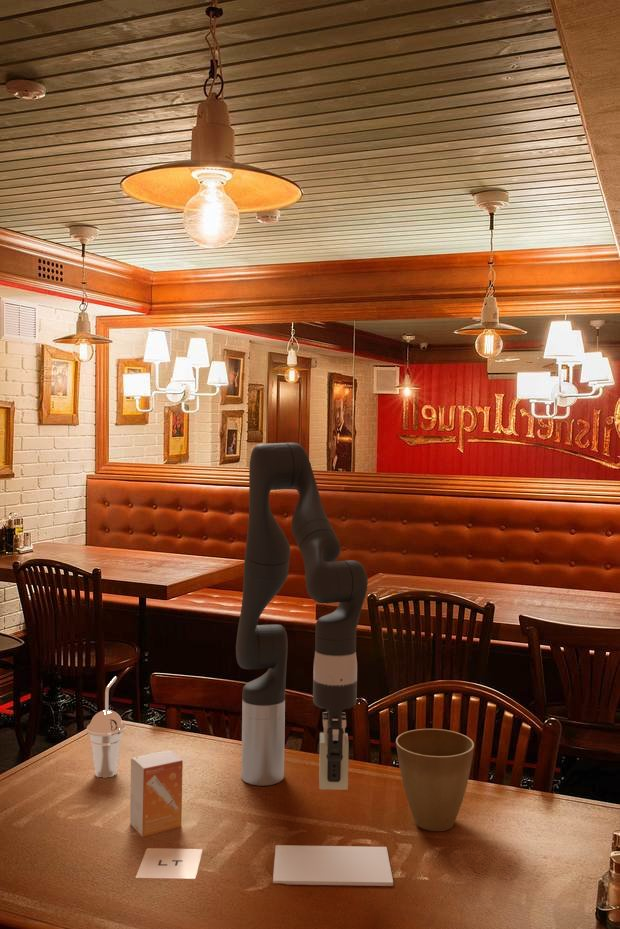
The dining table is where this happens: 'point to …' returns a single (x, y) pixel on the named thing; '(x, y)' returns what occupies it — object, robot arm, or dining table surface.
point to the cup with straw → (106, 739)
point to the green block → (324, 766)
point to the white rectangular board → (332, 865)
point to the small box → (156, 792)
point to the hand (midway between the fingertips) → (333, 774)
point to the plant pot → (434, 774)
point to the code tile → (170, 863)
